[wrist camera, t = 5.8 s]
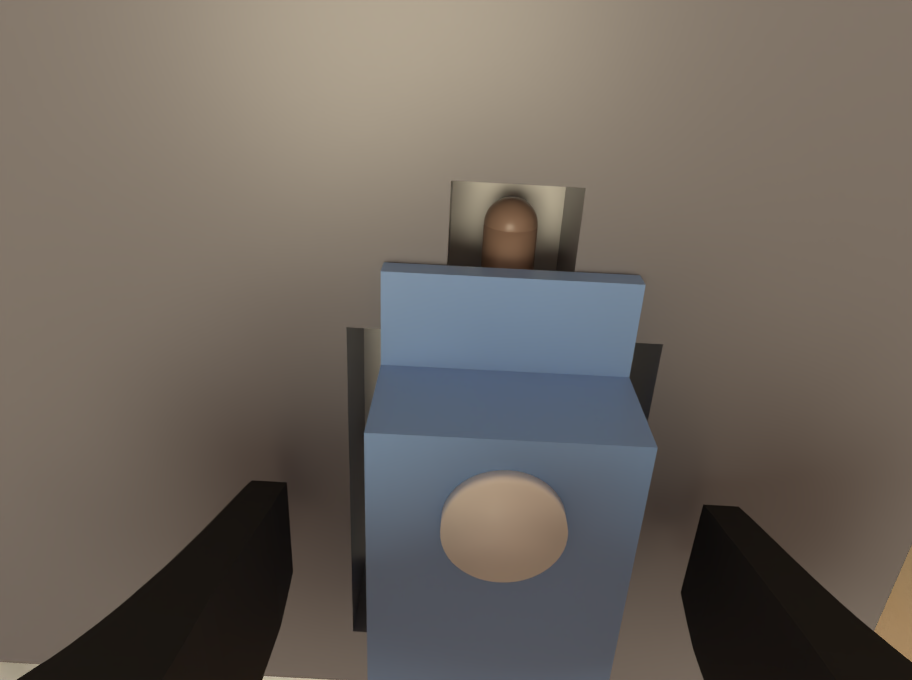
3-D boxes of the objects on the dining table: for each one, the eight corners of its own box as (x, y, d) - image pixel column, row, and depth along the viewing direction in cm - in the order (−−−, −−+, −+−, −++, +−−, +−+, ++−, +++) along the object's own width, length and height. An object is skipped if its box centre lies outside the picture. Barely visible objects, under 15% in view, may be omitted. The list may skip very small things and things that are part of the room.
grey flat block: (-75, 553, 18) (-171, 652, 15) (-371, -235, 11) (-645, -308, 8) (786, 599, 18) (840, 706, 15) (1051, -155, 11) (1239, -203, 8)
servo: (393, 595, 17) (366, 795, 13) (397, 177, 12) (357, 271, 8) (560, 603, 17) (588, 806, 13) (623, 188, 12) (699, 288, 8)
